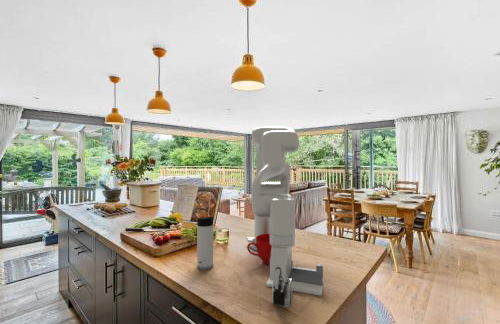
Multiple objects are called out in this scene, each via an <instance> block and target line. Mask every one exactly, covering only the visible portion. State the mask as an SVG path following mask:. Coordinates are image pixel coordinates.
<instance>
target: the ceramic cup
mask: <svg viewBox="0 0 500 324" xmlns="http://www.w3.org/2000/svg"><path fill="white" fill-rule="evenodd" d="M252 244H253V245H255V246H256V248H257V251H256V252H257V253H256V252H253V251H251V250H250V246H252ZM246 248H247V249H246V250H247V252H248V253H250V254H251V255H253V256H257V257H259V258H260V260H261V261H262V262H263V263H264V264H265V265H268V266H270V258H271V249H272V245H270V234H262V235H259V236H257V237H256V243H253V242H248V244H247V246H246Z"/></svg>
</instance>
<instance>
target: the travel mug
mask: <svg viewBox="0 0 500 324" xmlns="http://www.w3.org/2000/svg"><path fill="white" fill-rule="evenodd" d="M196 226H197V227H196V228H197V229H196V234H197V235H196V236H197V237H196V238H197V239H196V241H197V242H196V244H197V245H196V251H197V252H196V254H197V255H196V256H197V257H196V264H197V265H196V266H197V267H196V268H197V269H198V270H201V271H202V270H204V271H206V270H210V269H212V268H213V267H214V217H213V216H205V217H198V218H197V224H196Z"/></svg>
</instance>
